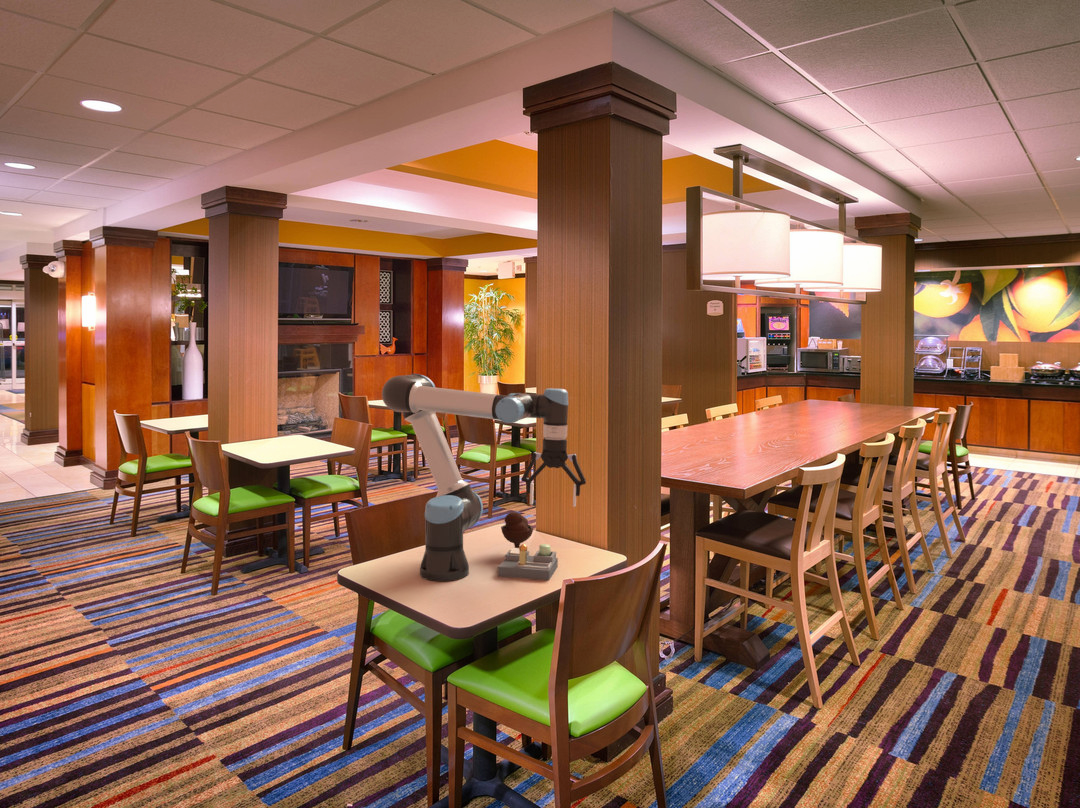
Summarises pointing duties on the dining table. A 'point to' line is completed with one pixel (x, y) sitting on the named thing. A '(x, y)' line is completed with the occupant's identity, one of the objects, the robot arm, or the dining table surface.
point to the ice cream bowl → (516, 528)
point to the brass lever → (523, 554)
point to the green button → (544, 550)
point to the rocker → (514, 551)
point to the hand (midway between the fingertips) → (552, 504)
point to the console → (529, 566)
